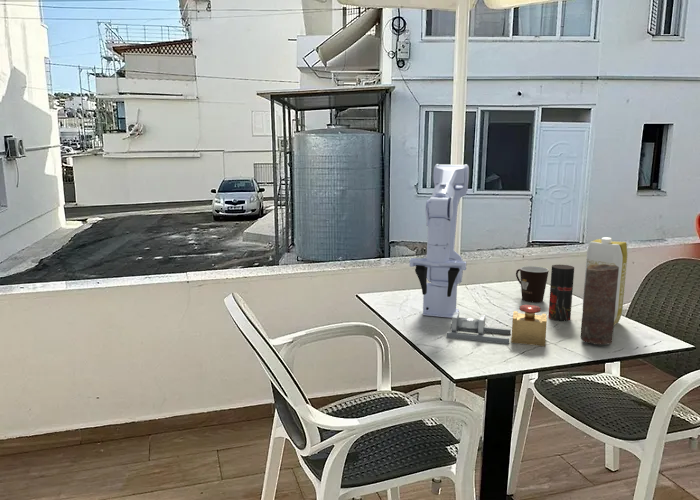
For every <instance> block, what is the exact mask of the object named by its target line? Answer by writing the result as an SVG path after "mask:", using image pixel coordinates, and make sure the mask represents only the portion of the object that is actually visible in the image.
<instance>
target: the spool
mask: <svg viewBox="0 0 700 500" xmlns="http://www.w3.org/2000/svg"><path fill="white" fill-rule="evenodd" d="M451 323H452V329H450V332H457V333H459V332H460V333H469V334H477V335H485V333H486V332H485V327H486V314H480V316H479V317H478V318H468V317H467V318H466V317H460V312H454V314H453V316H452V318H451Z"/></svg>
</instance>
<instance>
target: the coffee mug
mask: <svg viewBox="0 0 700 500" xmlns="http://www.w3.org/2000/svg"><path fill="white" fill-rule="evenodd" d="M519 273H520V275H519ZM549 273H550V270H549V269H548V268H546V267H543V266H533V265H530V266H529V265H528V266H527V265H526V266H522V267H519V268H518V269H517V270H516V273H515V276H516V280H517V281H518V283H519V284H520V290H521V291H520V292H521V300H522V301H523V302H527V303H532V304H533V303H534V304H535V303H536V304H537V303H542V302H544V297H545V291H546V287H547V281H548V276H549ZM519 276H520V277H519Z"/></svg>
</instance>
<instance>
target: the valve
mask: <svg viewBox="0 0 700 500" xmlns="http://www.w3.org/2000/svg"><path fill="white" fill-rule="evenodd" d="M519 310H520V311H521V313H520V312H519V311H516V310H514V311H513V315H512V322H511V337H510V338H511V339H510V340H511V341H510V342H511V344H522V345H530V346H540V347H546V340H547V339H546V336H547V322H548V319H547V317H548V316H547V313H541V314H538V313H540V312H542V311H541V310H542V309H541V307H540V306H538V305H533V304H522V305H520V306H519ZM522 312H524V313H522ZM536 313H537V314H536Z"/></svg>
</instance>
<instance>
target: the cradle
mask: <svg viewBox="0 0 700 500" xmlns="http://www.w3.org/2000/svg"><path fill="white" fill-rule="evenodd" d="M450 330H452V322H451V323H450ZM485 333H490V334H491V333H492V334H501V335H512V328H502V327H494V326H485ZM446 338H451V339H460V340H470V341H478V342H486V343H487V342H488V343H489V342H490V343H499V344H505V345H509V344H510V337H502V336H495V335H485V334H484V335H478V334H477V333H467V332H458V333H457V332H451V331H446Z"/></svg>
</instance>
